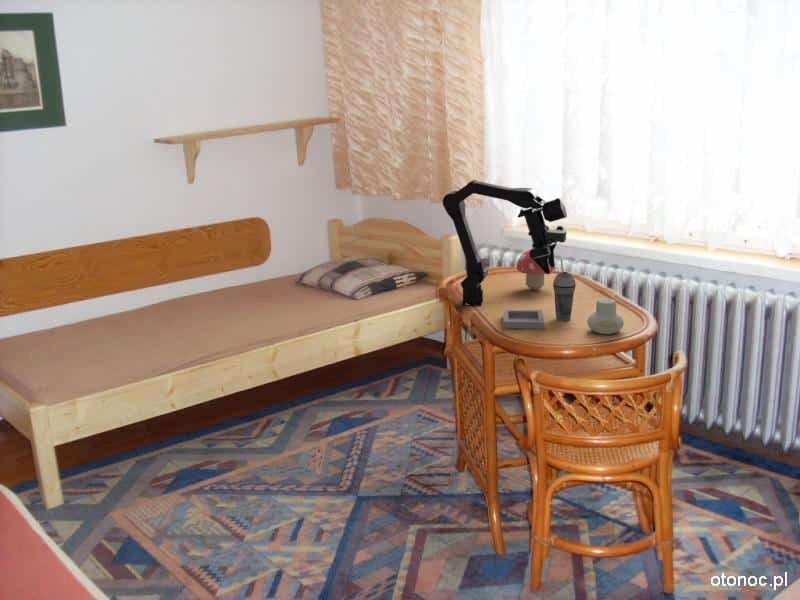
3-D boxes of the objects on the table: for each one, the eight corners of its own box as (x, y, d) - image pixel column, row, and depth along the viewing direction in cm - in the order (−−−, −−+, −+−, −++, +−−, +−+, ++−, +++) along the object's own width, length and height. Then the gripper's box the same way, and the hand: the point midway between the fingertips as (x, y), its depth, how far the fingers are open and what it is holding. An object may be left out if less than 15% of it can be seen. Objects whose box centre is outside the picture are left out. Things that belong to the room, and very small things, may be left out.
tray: (503, 329, 277) (503, 321, 276) (503, 316, 289) (503, 309, 288) (543, 329, 275) (544, 322, 275) (542, 317, 287) (542, 310, 287)
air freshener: (622, 327, 276) (623, 297, 273) (624, 336, 268) (625, 305, 265) (586, 326, 277) (587, 296, 274) (587, 335, 270) (588, 304, 267)
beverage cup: (574, 322, 281) (576, 262, 275) (551, 321, 283) (553, 261, 277) (574, 315, 288) (577, 256, 282) (552, 314, 289) (553, 255, 284)
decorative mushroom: (551, 296, 310) (552, 254, 305) (513, 294, 313) (514, 253, 309) (555, 285, 322) (556, 245, 318) (518, 284, 325) (519, 244, 321)
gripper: (555, 225, 277) (570, 271, 280) (564, 213, 294) (578, 257, 297) (522, 234, 282) (537, 280, 284) (533, 222, 299) (547, 266, 301)
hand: (551, 270), depth 292 cm, fingers open, 9 cm apart
